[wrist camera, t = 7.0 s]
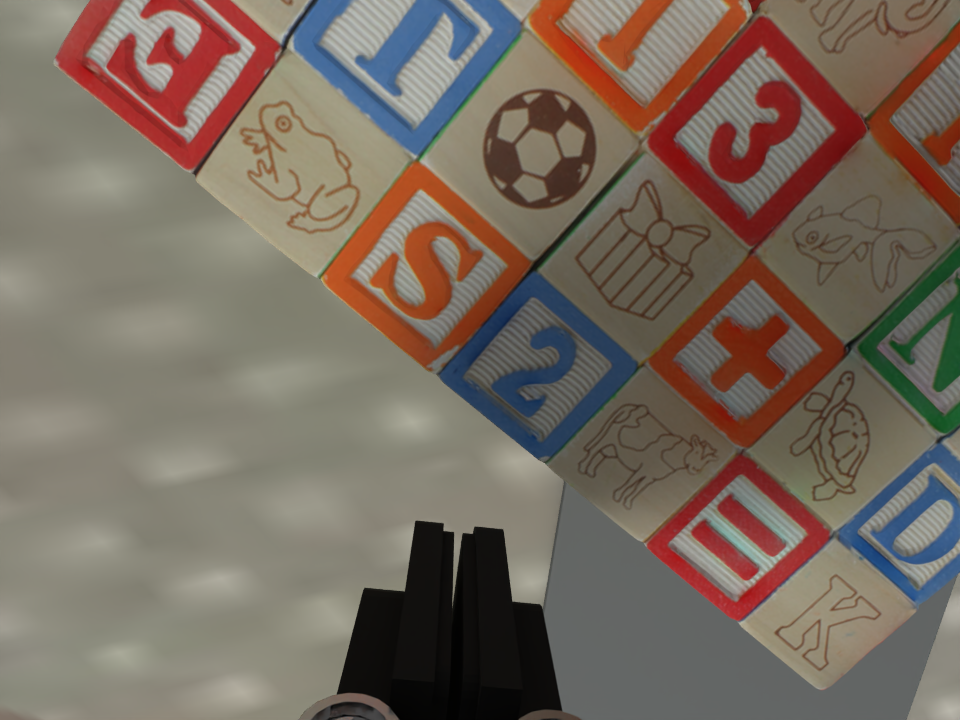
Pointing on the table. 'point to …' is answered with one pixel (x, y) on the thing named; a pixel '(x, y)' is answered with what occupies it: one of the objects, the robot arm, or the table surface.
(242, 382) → the table surface
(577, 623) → the mat
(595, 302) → the stack of blocks
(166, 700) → the table surface
